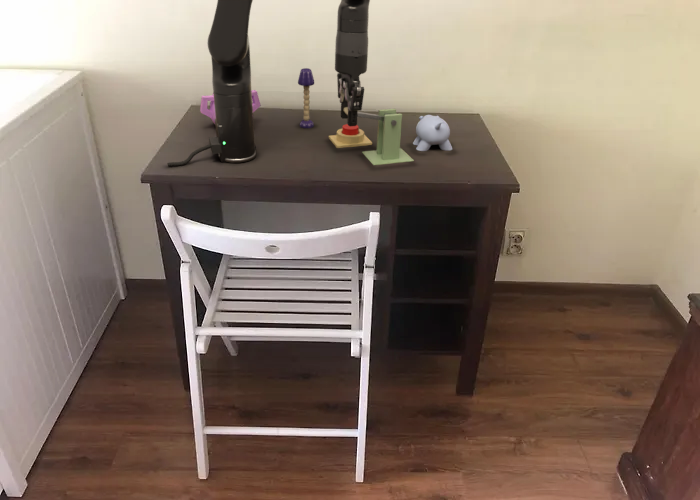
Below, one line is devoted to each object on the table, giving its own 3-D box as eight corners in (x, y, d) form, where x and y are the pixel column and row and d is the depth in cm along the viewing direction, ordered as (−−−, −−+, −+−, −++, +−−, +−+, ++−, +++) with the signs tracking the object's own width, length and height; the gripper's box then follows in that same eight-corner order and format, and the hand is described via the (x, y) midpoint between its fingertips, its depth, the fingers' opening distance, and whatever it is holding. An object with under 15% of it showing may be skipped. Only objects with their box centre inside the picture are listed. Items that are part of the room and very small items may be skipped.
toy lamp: (317, 127, 175) (317, 70, 166) (303, 130, 173) (303, 72, 164) (309, 122, 178) (308, 66, 170) (295, 125, 176) (294, 68, 168)
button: (345, 136, 160) (345, 129, 159) (340, 131, 164) (340, 124, 163) (360, 135, 161) (360, 128, 160) (355, 130, 165) (355, 123, 164)
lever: (348, 120, 143) (350, 110, 142) (342, 114, 148) (344, 104, 146) (397, 127, 148) (399, 118, 147) (390, 121, 153) (392, 112, 151)
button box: (336, 151, 159) (337, 138, 158) (328, 141, 166) (328, 128, 164) (372, 148, 162) (372, 135, 160) (362, 138, 169) (363, 125, 167)
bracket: (373, 169, 150) (375, 119, 143) (361, 155, 157) (363, 108, 151) (413, 164, 153) (417, 116, 146) (400, 152, 160) (403, 105, 154)
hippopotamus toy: (442, 136, 171) (446, 104, 166) (457, 156, 158) (461, 121, 153) (405, 137, 170) (408, 104, 165) (417, 157, 157) (420, 122, 152)
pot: (194, 121, 177) (190, 81, 171) (250, 113, 184) (248, 75, 178) (211, 141, 164) (207, 99, 158) (271, 132, 171) (269, 91, 165)
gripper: (327, 44, 142) (325, 113, 151) (345, 58, 131) (342, 132, 139) (357, 43, 145) (354, 111, 153) (377, 57, 133) (372, 130, 142)
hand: (348, 121), depth 146 cm, fingers closed on lever, 5 cm apart
